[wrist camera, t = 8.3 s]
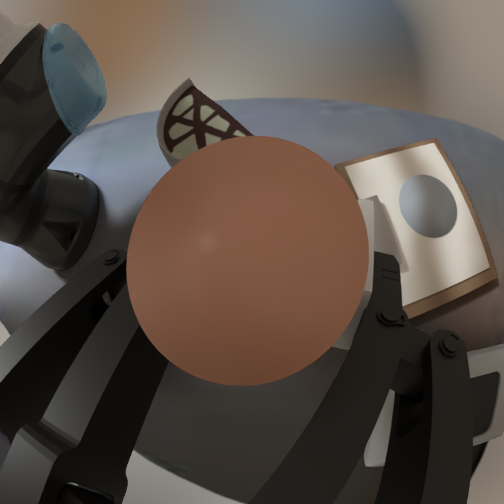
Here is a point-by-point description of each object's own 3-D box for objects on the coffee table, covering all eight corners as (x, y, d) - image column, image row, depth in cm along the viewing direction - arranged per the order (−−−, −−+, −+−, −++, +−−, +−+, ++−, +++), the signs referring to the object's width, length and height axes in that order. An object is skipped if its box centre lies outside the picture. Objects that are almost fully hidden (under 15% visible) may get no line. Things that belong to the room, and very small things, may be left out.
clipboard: (388, 325, 20) (394, 326, 18) (334, 171, 24) (334, 158, 22) (491, 278, 18) (503, 275, 15) (433, 144, 22) (438, 131, 20)
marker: (277, 338, 17) (150, 396, 4) (259, 270, 18) (120, 188, 6) (347, 318, 16) (402, 345, 3) (327, 249, 17) (312, 108, 5)
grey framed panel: (507, 438, 10) (366, 474, 14) (491, 427, 14) (363, 455, 18) (525, 343, 12) (382, 371, 17) (505, 341, 16) (374, 363, 20)
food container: (184, 168, 30) (133, 119, 20) (225, 134, 29) (186, 75, 20) (243, 246, 25) (192, 206, 16) (294, 204, 25) (270, 143, 16)
